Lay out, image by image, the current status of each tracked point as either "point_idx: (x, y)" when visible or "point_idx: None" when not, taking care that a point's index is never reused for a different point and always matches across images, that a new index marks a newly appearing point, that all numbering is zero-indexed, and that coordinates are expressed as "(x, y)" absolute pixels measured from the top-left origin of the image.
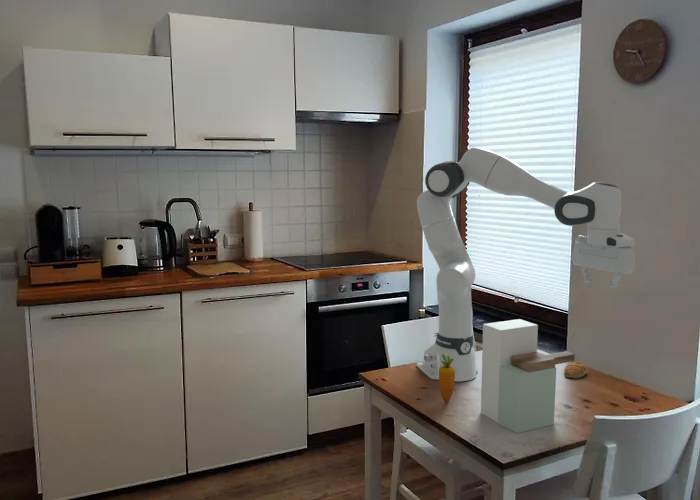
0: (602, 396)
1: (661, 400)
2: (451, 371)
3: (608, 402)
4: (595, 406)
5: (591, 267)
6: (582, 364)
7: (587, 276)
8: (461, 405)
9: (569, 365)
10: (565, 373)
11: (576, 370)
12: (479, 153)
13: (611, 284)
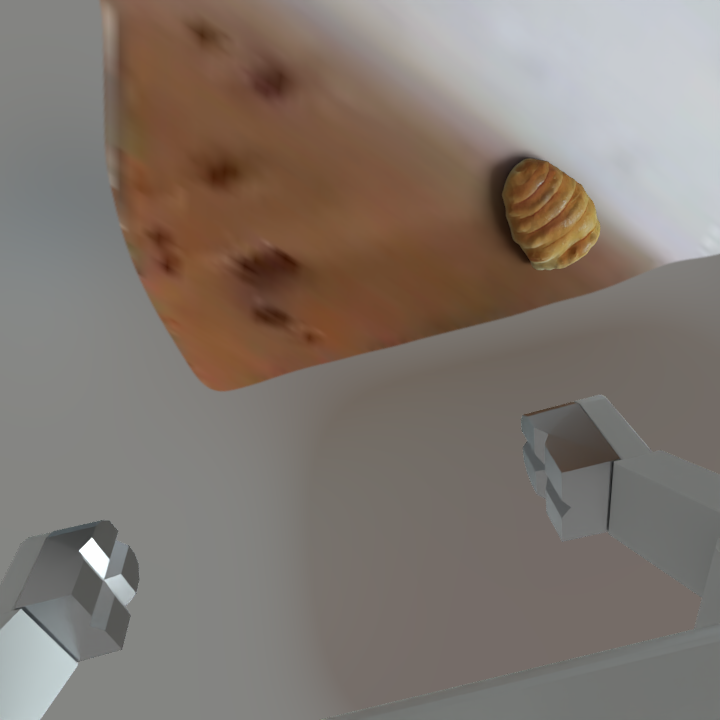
0: (306, 180)
1: (239, 351)
2: None
3: (243, 164)
4: (206, 80)
5: (515, 683)
6: (558, 263)
7: (580, 469)
8: None
9: (574, 207)
10: (540, 161)
11: (524, 208)
12: None
13: (53, 554)
